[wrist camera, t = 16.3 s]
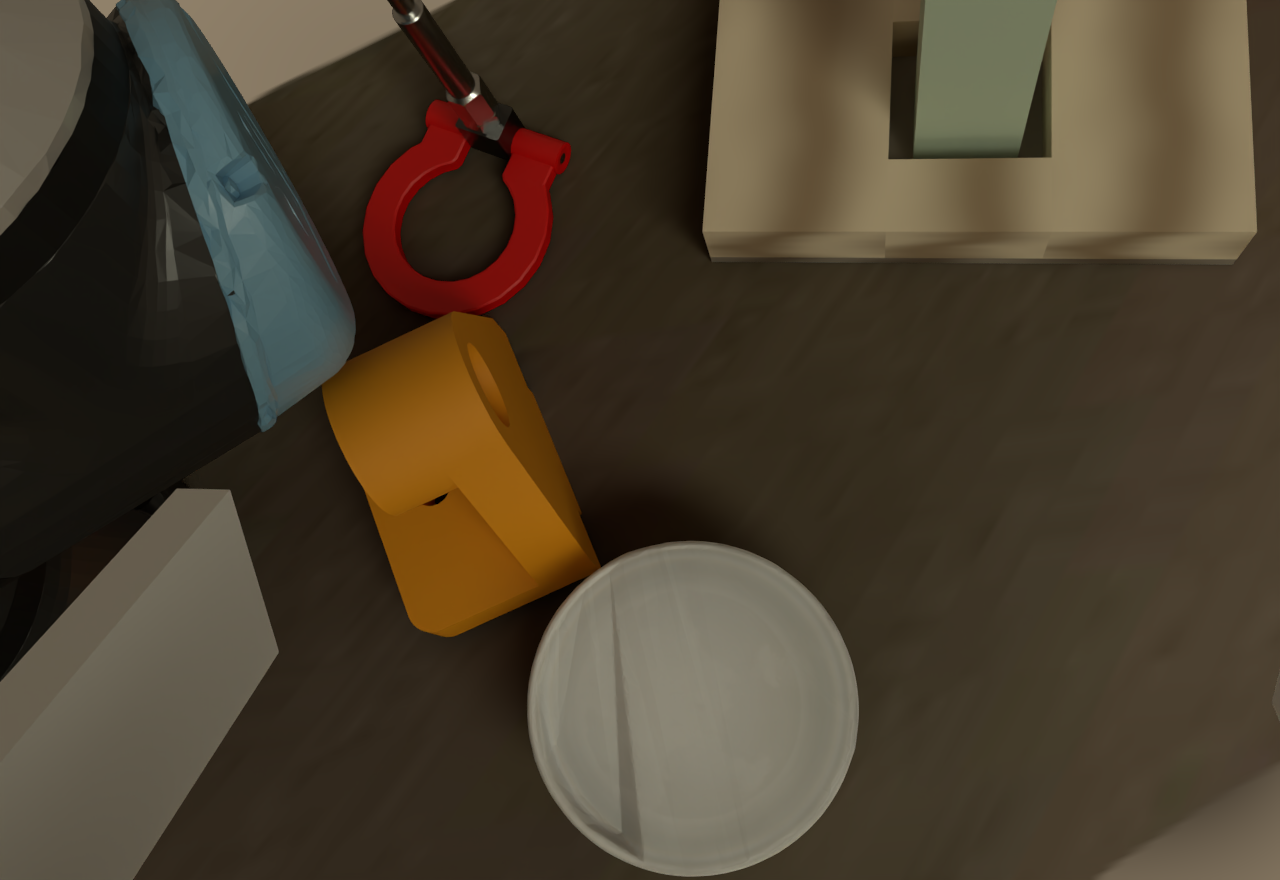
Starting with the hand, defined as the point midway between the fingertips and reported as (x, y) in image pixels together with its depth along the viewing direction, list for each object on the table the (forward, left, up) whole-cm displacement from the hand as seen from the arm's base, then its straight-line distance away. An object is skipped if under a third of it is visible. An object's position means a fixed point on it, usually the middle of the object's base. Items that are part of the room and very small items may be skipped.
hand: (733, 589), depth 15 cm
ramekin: (-4, -1, -31) cm, 32 cm away
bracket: (-14, +7, -31) cm, 35 cm away
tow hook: (-16, +19, -31) cm, 40 cm away
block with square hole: (+5, +23, -31) cm, 39 cm away
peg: (+5, +23, -30) cm, 39 cm away
